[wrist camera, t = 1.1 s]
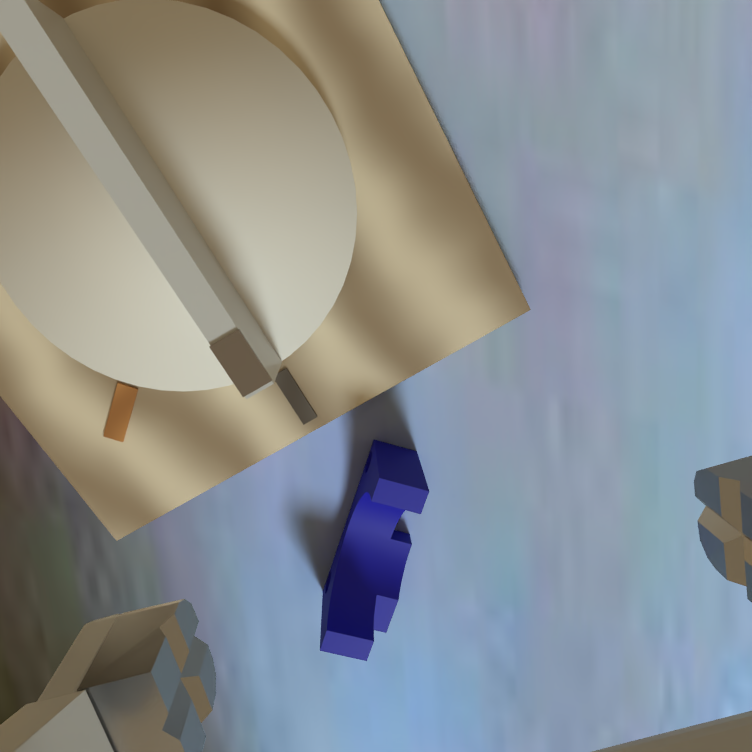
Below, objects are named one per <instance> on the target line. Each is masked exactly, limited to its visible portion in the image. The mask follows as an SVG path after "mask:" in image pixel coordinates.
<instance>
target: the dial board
mask: <svg viewBox="0 0 752 752" xmlns="http://www.w3.org/2000/svg"><path fill="white" fill-rule="evenodd" d="M38 1H40V2H41V3H43V4H44V5H46V6H47V7H48V8H50V9H51V10H53V11H54V12H56V13H57V14H58V15H60V16H61V17H63V19H64V18H66V17H68V16H69V15H71V14H73V13H76V12H79V11H82V10H84V9H87V8H90V7H93V6H95V5H99V4H104V3H109V2H114V1H119V0H38ZM173 1H180V2H184V3H188V4H193V5H197V6H201V7H205V8H208V9H210V10H213V11H215V12H218V13H220V14H223V15H225V16H228V17H230V18H233V19H234V20H236V21H238V22H240V23H241V24H243V25H245V26H247V27H249V28H250V29H252V30H254V31H256V32H257V33H259V34H260V35H261V36H263V37H264V38H265V39H267V40H268V41H269V42H271V43H272V44H273V45H275V46H276V47H277V48H279V49H280V50H281V51H282V52H283V53H284V54H285V55H286V56H287V57H288V58H289V59H290V60H291V61H292V62H293V63H294V64H295V65H296V66H297V67H298V68H299V69H300V70H301V71H302V72H303V73H304V75H305V76H306V77H307V78H308V80H309V81H310V82H311V83H312V85H313V86H314V87H315V88H316V90H317V91H318V93H319V94H320V96H321V98H322V99H323V101H324V102H325V104H326V106H327V107H328V109H329V110H330V112H331V114H332V116H333V118H334V120H335V122H336V125H337V127H338V129H339V131H340V133H341V135H342V138H343V141H344V144H345V147H346V150H347V153H348V156H349V159H350V162H351V167H352V173H353V178H354V183H355V188H356V204H357V223H356V239H355V244H354V249H353V254H352V259H351V263H350V266H349V269H348V272H347V275H346V278H345V282H344V285H343V287H342V289H341V291H340V293H339V295H338V297H337V299H336V301H335V303H334V305H333V307H332V308H331V310H330V311H329V313H328V314H327V316H326V317H325V319H324V320H323V322H322V323H321V325H320V326H319V327H318V328H317V329H316V331H315V332H314V333H313V334H312V335H311V336H310V337H309V339H308V340H307V341H306V342H305V343H304V344H302V345H301V346H300V347H299V348H298V349H297V350H296V351H294V352H293V353H292V354H291V355H290V356H289V357H287V358H286V359H284V360H283V361H282V364H281V366H280V369H279V371H278V374H277V377H276V379H275V382H274V384H272V385H271V386H269V387H267V388H265V389H264V390H262V391H260V392H258V393H257V394H255V395H253V396H251V397H250V398H248V399H246V398H245V397H242V395H241V394H240V392H239V391H238V389H237V388H236V386H235V385H234V384H232V385H229V386H224V387H219V388H214V389H209V390H199V391H185V392H183V391H164V390H156V389H151V388H145V387H139V386H135V385H132V384H129V383H125V382H122V381H119V380H115V379H113V378H111V377H108V376H106V375H104V374H101V373H99V372H97V371H94V370H92V369H90V368H89V367H87V366H85V365H84V364H82V363H80V362H78V361H77V360H75V359H73V358H71V357H70V356H69V355H67V354H66V353H65V352H63V351H62V350H61V349H59V348H58V347H57V346H55V345H54V344H52V343H51V342H50V341H49V340H48V339H47V338H46V337H45V336H44V335H43V334H41V333H40V332H39V331H38V330H37V329H36V328H35V327H34V326H33V325H32V324H31V323H30V322H29V320H28V319H27V318H26V317H25V316H24V315H23V313H22V312H21V311H20V310H19V309H18V308H17V306H16V305H15V304H14V302H13V301H12V299H11V298H10V296H9V295H8V293H7V292H6V290H5V289H4V287H3V286H2V284H1V282H0V396H1V397H2V399H3V400H4V401H5V402H6V404H7V405H8V406H9V407H10V409H11V410H12V411H13V412H14V414H15V415H16V416H17V417H18V419H19V420H20V421H21V422H22V423H23V425H24V426H25V427H26V428H27V430H28V431H29V432H30V433H31V435H32V436H33V437H34V438H35V440H36V441H37V442H38V443H39V445H40V446H41V447H42V448H43V450H44V451H45V452H46V453H47V455H48V456H49V457H50V458H51V460H52V461H53V462H54V463H55V465H56V466H57V467H58V468H59V470H60V471H61V472H62V473H63V475H64V476H65V477H66V478H67V480H68V481H69V482H70V483H71V484H72V486H73V487H74V488H75V489H76V491H77V492H78V493H79V494H80V496H81V497H82V498H83V499H84V501H85V502H86V503H87V504H88V506H89V507H90V508H91V509H92V511H93V512H94V513H95V514H96V516H97V517H98V518H99V519H100V521H101V522H102V523H103V524H104V526H105V527H106V528H107V529H108V531H109V532H110V533H111V534H112V536H113V537H114V538H115V539H116V541H117V540H119V539H121V538H122V537H124V536H126V535H128V534H130V533H131V532H133V531H135V530H137V529H138V528H140V527H142V526H144V525H146V524H147V523H149V522H151V521H153V520H155V519H156V518H158V517H160V516H162V515H164V514H165V513H167V512H169V511H171V510H173V509H174V508H176V507H178V506H180V505H182V504H183V503H185V502H187V501H189V500H190V499H192V498H194V497H196V496H198V495H199V494H201V493H203V492H205V491H207V490H208V489H210V488H212V487H214V486H216V485H217V484H219V483H221V482H223V481H225V480H226V479H228V478H230V477H232V476H233V475H235V474H237V473H239V472H241V471H242V470H244V469H246V468H248V467H250V466H251V465H253V464H255V463H257V462H259V461H260V460H262V459H264V458H266V457H268V456H269V455H271V454H273V453H275V452H277V451H278V450H280V449H282V448H284V447H285V446H287V445H289V444H291V443H293V442H294V441H296V440H298V439H300V438H302V437H303V436H305V435H307V434H309V433H311V432H312V431H314V430H316V429H318V428H320V427H321V426H323V425H325V424H327V423H328V422H330V421H332V420H334V419H336V418H337V417H339V416H341V415H343V414H345V413H346V412H348V411H350V410H352V409H354V408H355V407H357V406H359V405H361V404H363V403H364V402H366V401H368V400H370V399H371V398H373V397H375V396H377V395H379V394H380V393H382V392H384V391H386V390H388V389H389V388H391V387H393V386H395V385H397V384H398V383H400V382H402V381H404V380H406V379H407V378H409V377H411V376H413V375H415V374H416V373H418V372H420V371H422V370H423V369H425V368H427V367H429V366H431V365H432V364H434V363H436V362H438V361H440V360H441V359H443V358H445V357H447V356H449V355H450V354H452V353H454V352H456V351H458V350H459V349H461V348H463V347H465V346H466V345H468V344H470V343H472V342H474V341H475V340H477V339H479V338H481V337H483V336H484V335H486V334H488V333H490V332H492V331H493V330H495V329H497V328H499V327H501V326H502V325H504V324H506V323H508V322H509V321H511V320H513V319H515V318H517V317H518V316H520V315H522V314H524V313H526V312H527V311H529V310H530V308H529V306H528V303H527V301H526V299H525V297H524V295H523V293H522V291H521V289H520V287H519V285H518V283H517V281H516V279H515V277H514V275H513V273H512V271H511V269H510V267H509V265H508V263H507V261H506V259H505V257H504V255H503V253H502V251H501V248H500V246H499V244H498V242H497V240H496V238H495V236H494V234H493V232H492V230H491V228H490V226H489V224H488V222H487V220H486V218H485V216H484V214H483V212H482V210H481V208H480V206H479V204H478V202H477V200H476V198H475V196H474V193H473V191H472V189H471V187H470V185H469V183H468V181H467V179H466V177H465V175H464V173H463V171H462V169H461V167H460V165H459V163H458V161H457V159H456V157H455V155H454V153H453V151H452V149H451V147H450V145H449V143H448V141H447V138H446V136H445V134H444V132H443V130H442V128H441V126H440V124H439V122H438V120H437V118H436V116H435V114H434V112H433V110H432V108H431V106H430V104H429V102H428V100H427V98H426V96H425V94H424V92H423V90H422V88H421V86H420V83H419V81H418V79H417V77H416V75H415V73H414V71H413V69H412V67H411V65H410V63H409V61H408V59H407V57H406V55H405V53H404V51H403V49H402V47H401V45H400V43H399V41H398V39H397V37H396V35H395V33H394V31H393V28H392V26H391V24H390V22H389V20H388V18H387V16H386V14H385V12H384V10H383V8H382V6H381V4H380V2H379V0H173ZM15 56H16V55H15V53H14V52H13V50H12V49H11V47H10V46H9V44H8V43H7V41H6V40H5V38H4V37H3V35H2V34H1V32H0V76H1V75H2V73H3V72H4V70H5V69H6V68H7V66H8V65H9V63H10V62H11V61H12V60H13V58H14V57H15Z"/></svg>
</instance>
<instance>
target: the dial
mask: <svg viewBox="0 0 752 752" xmlns="http://www.w3.org/2000/svg"><path fill="white" fill-rule="evenodd" d="M0 32H1V34H2V35H3V37H4V38H5V40H6V41H7V43H8V44H9V46H10V47H11V49H12V50H13V52H14V53H15V55H16V56H15V57H14V58H13V60H12V61H11V62H10V63H9V65H8V66H7V68H6V69H5V70H4V72H3V73H2V75H1V76H0V282H1V284H2V286H3V287H4V289H5V290H6V292H7V293H8V295H9V296H10V298H11V299H12V301H13V302H14V304H15V305H16V306H17V308H18V309H19V310H20V311H21V312H22V313H23V315H24V316H25V317H26V318H27V319H28V320H29V322H30V323H31V324H32V325H33V326H34V327H35V328H36V329H37V330H38V331H39V332H40V333H41V334H43V335H44V336H45V337H46V338H47V339H48V340H49V341H50V342H51V343H52V344H54V345H55V346H57V347H58V348H59V349H61V350H62V351H63V352H65V353H66V354H67V355H69V356H70V357H71V358H73V359H75V360H77V361H78V362H80V363H82V364H84V365H85V366H87V367H89V368H90V369H92V370H94V371H97V372H99V373H101V374H104V375H106V376H108V377H111V378H113V379H115V380H119V381H122V382H125V383H129V384H132V385H135V386H139V387H145V388H151V389H156V390H164V391H183V392H185V391H199V390H209V389H214V388H219V387H224V386H229V385H232V384H234V385H235V386H236V388H237V389H238V391H239V392H240V394H241V395H242V397H245V398H246V399H248V398H250V397H251V396H253V395H255V394H257V393H258V392H260V391H262V390H264V389H265V388H267V387H269V386H271V385H272V384H274V382H275V379H276V377H277V374H278V371H279V369H280V366H281V364H282V361H283V360H284V359H286V358H287V357H289V356H290V355H291V354H292V353H293V352H294V351H296V350H297V349H298V348H299V347H300V346H301V345H302V344H304V343H305V342H306V341H307V340H308V339H309V337H310V336H311V335H312V334H313V333H314V332H315V331H316V329H317V328H318V327H319V326H320V325H321V323H322V322H323V320H324V319H325V317H326V316H327V314H328V313H329V311H330V310H331V308H332V307H333V305H334V303H335V301H336V299H337V297H338V295H339V293H340V291H341V289H342V287H343V285H344V282H345V278H346V275H347V272H348V269H349V266H350V263H351V259H352V254H353V249H354V244H355V239H356V223H357V204H356V188H355V183H354V178H353V173H352V167H351V162H350V159H349V156H348V153H347V150H346V147H345V144H344V141H343V138H342V135H341V133H340V131H339V129H338V127H337V125H336V122H335V120H334V118H333V116H332V114H331V112H330V110H329V109H328V107H327V106H326V104H325V102H324V101H323V99H322V98H321V96H320V94H319V93H318V91H317V90H316V88H315V87H314V86H313V85H312V83H311V82H310V81H309V80H308V78H307V77H306V76H305V75H304V73H303V72H302V71H301V70H300V69H299V68H298V67H297V66H296V65H295V64H294V63H293V62H292V61H291V60H290V59H289V58H288V57H287V56H286V55H285V54H284V53H283V52H282V51H281V50H280V49H279V48H277V47H276V46H275V45H273V44H272V43H271V42H269V41H268V40H267V39H265V38H264V37H263V36H261V35H260V34H259V33H257V32H256V31H254V30H252V29H250V28H249V27H247V26H245V25H243V24H241V23H240V22H238V21H236V20H234V19H233V18H230V17H228V16H225V15H223V14H220V13H218V12H215V11H213V10H210V9H208V8H205V7H201V6H197V5H193V4H188V3H184V2H180V1H173V0H119V1H114V2H109V3H104V4H99V5H95V6H93V7H90V8H87V9H84V10H82V11H79V12H76V13H73V14H71V15H69V16H68V17H66V18H64V19H63V17H61V16H60V15H58V14H57V13H56V12H54V11H53V10H51V9H50V8H48V7H47V6H46V5H44V4H43V3H41V2H40V1H38V0H0Z"/></svg>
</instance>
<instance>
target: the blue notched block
mask: <svg viewBox="0 0 752 752" xmlns="http://www.w3.org/2000/svg"><path fill="white" fill-rule="evenodd" d="M428 493H429V489H428V486H427V483H426V480H425V476H424V473H423V470H422V467H421V464H420V460H419V457H418V454H417V451H414V450H410V449H406V448H403V447H399V446H395V445H392V444H388V443H384V442H381V441H377V440H374V441H373V444H372V447H371V450H370V452H369V455H368V458H367V461H366V464H365V467H364V470H363V473H362V476H361V479H360V482H359V485H358V488H357V491H356V494H355V497H354V500H353V503H352V506H351V509H350V512H349V515H348V518H347V521H346V524H345V527H344V530H343V533H342V536H341V539H340V542H339V545H338V548H337V551H336V554H335V557H334V560H333V563H332V566H331V569H330V572H329V575H328V578H327V581H326V584H325V587H324V590H323V600H322V619H321V639H320V651H324V652H329V653H333V654H338V655H342V656H347V657H351V658H356V659H360V660H365V661H367V658H368V656H369V653H370V650H371V648H372V645H373V642H374V630H376V631H381V632H385V633H386V632H387V629H388V626H389V624H390V621H391V618H392V616H393V613H394V610H395V608H396V605H397V602H398V599H399V592H400V586H401V581H402V576H403V572H404V568H405V564H406V561H407V557H408V554H409V551H410V548H411V545H412V543H411V539H410V534H408V533H404V532H400V531H396V530H394V529H395V527H396V525H397V523H398V521H399V519H400V517H401V515H402V514H403V512H404V511H405V510H407V511H411V512H415V513H418V514H421V512H422V509H423V507H424V504H425V501H426V499H427V496H428Z"/></svg>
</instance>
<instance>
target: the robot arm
mask: <svg viewBox="0 0 752 752" xmlns="http://www.w3.org/2000/svg"><path fill="white" fill-rule="evenodd" d="M694 487H695V496H696V497H697V498H698V499H699V500H700V501H701V502H702V503H703V504H704V505H705V506H706V507H705V509H704V510H703V512H702V514H701V516H700V518H699V519H698V528H699V535H700V541H701V543H702V546H703V548H704V550H705V553H706V555H707V558H708V559H709V560H710V562H711V563H712V565H713V566H714V567H715V569H716V570H717V571H718V572H719V573H720V574H721V575H722V576H723V577H725V578H726V579H727V580H729V581H732V582H735V583H738V584H741V585H744V586H747V597H748V600H750V601H751V602H752V456H749V457H745V458H742V459H738V460H734V461H731V462H727V463H724V464H720V465H717V466H713V467H709V468H706V469H702V470H699V471H696V475H695V480H694ZM198 622H199V620H198V618H197V616H196V613H195V611H194V609H193V606H192V604H191V603H190V602H188V601H187V600H186V599H182V600H178V601H173V602H169V603H165V604H160V605H156V606H152V607H147V608H143V609H139V610H134V611H130V612H126V613H123V614H116V615H112V616H108V617H105V618H101V619H97V620H94V621H91V622H89V623H87V624H85V625H84V627H83V628H82V630H81V631H80V633H79V635H78V636H77V638H76V639H75V641H74V643H73V644H72V646H71V648H70V649H69V651H68V652H67V654H66V656H65V657H64V659H63V660H62V662H61V664H60V665H59V667H58V669H57V670H56V672H55V673H54V675H53V677H52V678H51V680H50V682H49V683H48V685H47V686H46V688H45V690H44V691H43V693H42V694H41V696H40V698H39V699H38V701H37V702H34V703H31V704H27V705H25V706H24V707H22V708H21V709H20V710H19V711H17V712H16V713H15V714H14V715H12V716H11V717H10V718H9V719H7V720H6V721H5V722H4V723H2V724H1V725H0V752H202V750H203V746H204V742H205V738H206V735H205V732H204V730H203V727H202V724H201V723H202V722H203V720H204V719H205V718H206V717H207V716H208V715H209V714H210V712H211V711H212V710H213V705H214V700H215V696H216V672H215V667H214V662H213V657H212V655H211V652H210V649H209V646H208V645H207V644H206V643H204V642H203V641H201V640H200V639H198V638H197V637H195V636H194V635H195V632H196V629H197V625H198ZM592 752H752V711H749V712H745V713H741V714H737V715H733V716H729V717H725V718H721V719H717V720H713V721H710V722H706V723H702V724H698V725H694V726H690V727H686V728H682V729H678V730H674V731H670V732H666V733H662V734H658V735H655V736H651V737H647V738H643V739H639V740H635V741H631V742H627V743H623V744H619V745H615V746H612V747H608V748H604V749H600V750H596V751H592Z"/></svg>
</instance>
